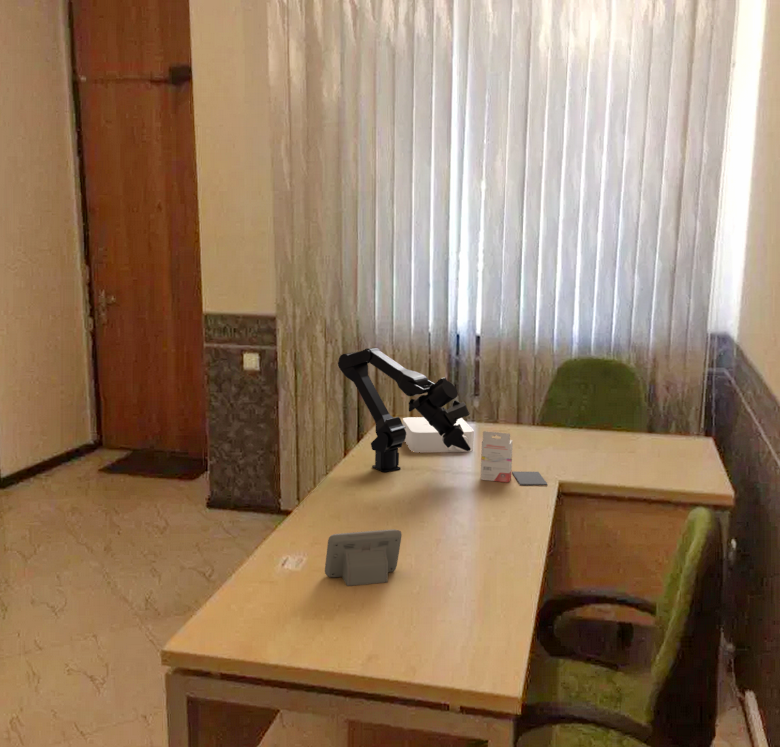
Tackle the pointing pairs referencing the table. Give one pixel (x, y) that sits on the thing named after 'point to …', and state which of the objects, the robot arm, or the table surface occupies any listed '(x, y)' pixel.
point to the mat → (529, 478)
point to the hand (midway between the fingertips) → (469, 449)
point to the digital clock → (363, 556)
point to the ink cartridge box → (496, 457)
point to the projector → (432, 436)
